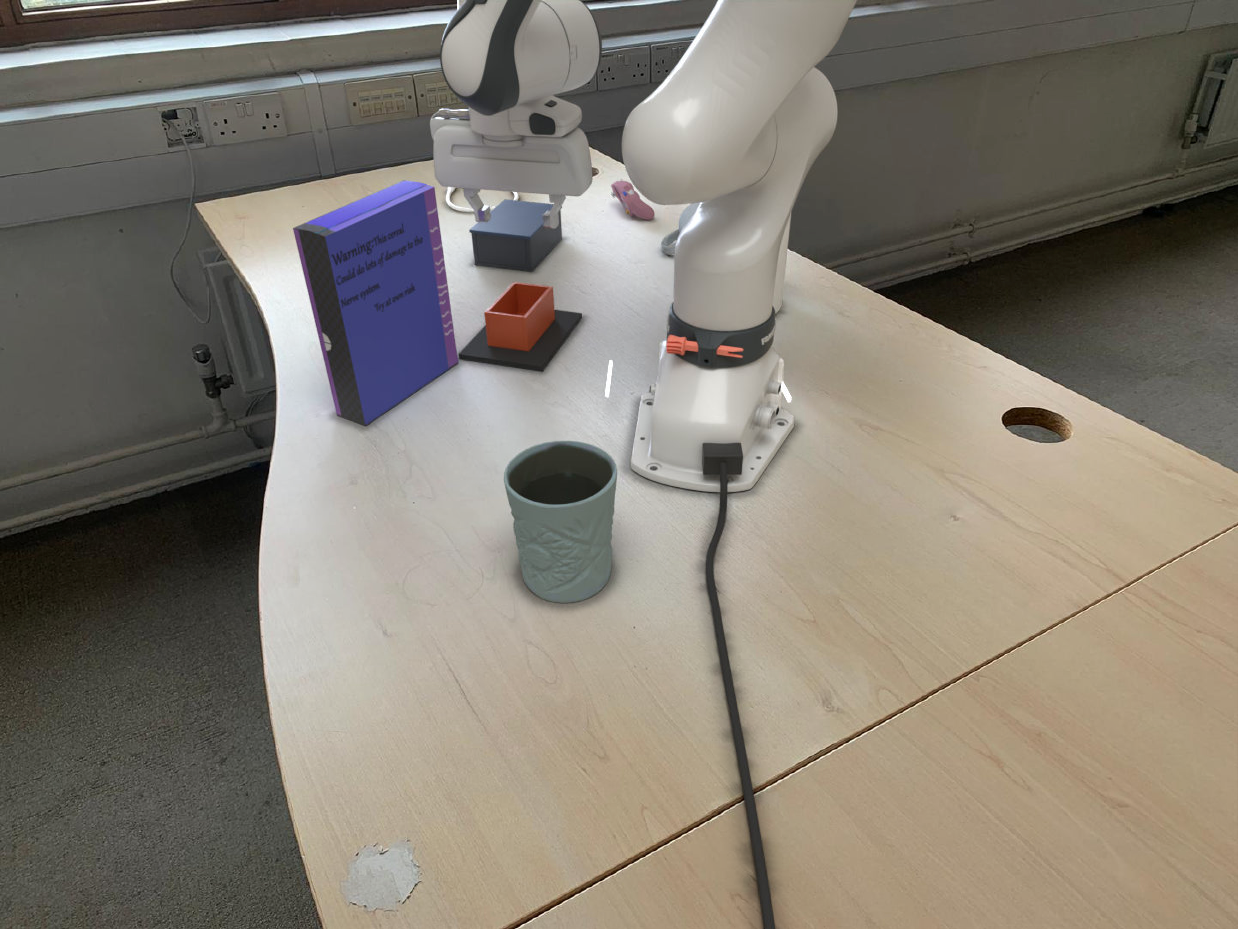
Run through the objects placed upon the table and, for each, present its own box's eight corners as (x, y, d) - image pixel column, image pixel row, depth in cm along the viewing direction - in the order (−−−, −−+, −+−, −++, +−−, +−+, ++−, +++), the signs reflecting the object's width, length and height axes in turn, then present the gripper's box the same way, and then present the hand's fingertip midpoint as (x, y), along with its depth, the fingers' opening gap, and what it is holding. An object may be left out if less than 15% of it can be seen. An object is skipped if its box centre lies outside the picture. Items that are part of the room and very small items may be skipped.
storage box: (532, 272, 143) (530, 236, 140) (473, 265, 146) (469, 229, 142) (563, 239, 154) (562, 204, 151) (507, 232, 157) (504, 199, 153)
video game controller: (619, 212, 168) (602, 181, 164) (640, 199, 168) (624, 167, 164) (636, 231, 161) (619, 199, 156) (658, 217, 160) (641, 184, 156)
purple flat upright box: (430, 354, 122) (403, 178, 108) (458, 363, 120) (434, 185, 106) (336, 415, 110) (292, 226, 96) (365, 426, 108) (324, 234, 94)
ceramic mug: (718, 238, 153) (719, 194, 149) (730, 257, 147) (732, 211, 142) (657, 244, 152) (656, 199, 148) (666, 263, 146) (666, 217, 141)
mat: (542, 371, 118) (542, 366, 117) (459, 359, 121) (458, 353, 120) (582, 318, 130) (582, 312, 130) (505, 307, 133) (505, 302, 133)
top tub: (528, 351, 121) (526, 318, 118) (487, 345, 122) (484, 312, 119) (555, 318, 128) (553, 286, 125) (516, 313, 130) (513, 281, 127)
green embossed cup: (525, 617, 82) (515, 515, 75) (505, 547, 90) (494, 449, 83) (631, 594, 84) (631, 493, 77) (603, 528, 92) (600, 430, 85)
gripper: (416, 114, 108) (433, 226, 116) (576, 122, 103) (582, 239, 110) (439, 101, 113) (454, 209, 121) (594, 108, 107) (598, 221, 115)
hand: (517, 223), depth 116 cm, fingers open, 8 cm apart
